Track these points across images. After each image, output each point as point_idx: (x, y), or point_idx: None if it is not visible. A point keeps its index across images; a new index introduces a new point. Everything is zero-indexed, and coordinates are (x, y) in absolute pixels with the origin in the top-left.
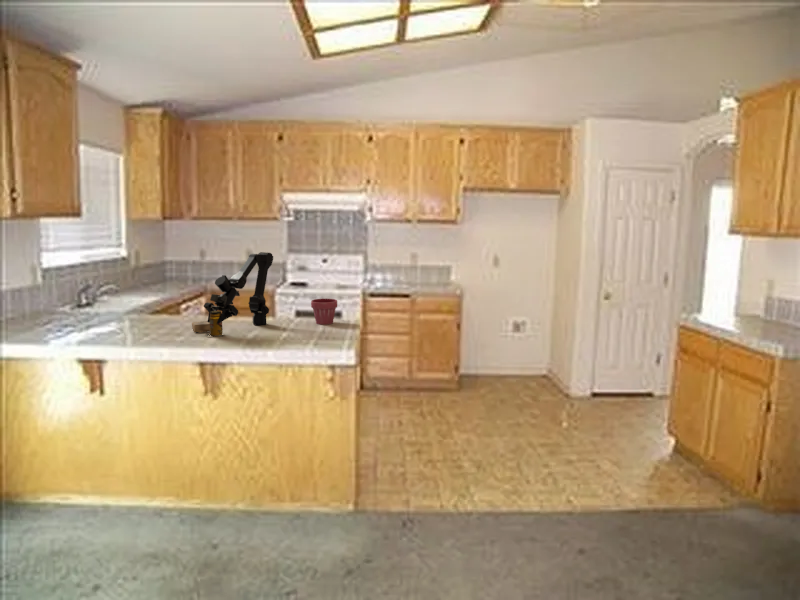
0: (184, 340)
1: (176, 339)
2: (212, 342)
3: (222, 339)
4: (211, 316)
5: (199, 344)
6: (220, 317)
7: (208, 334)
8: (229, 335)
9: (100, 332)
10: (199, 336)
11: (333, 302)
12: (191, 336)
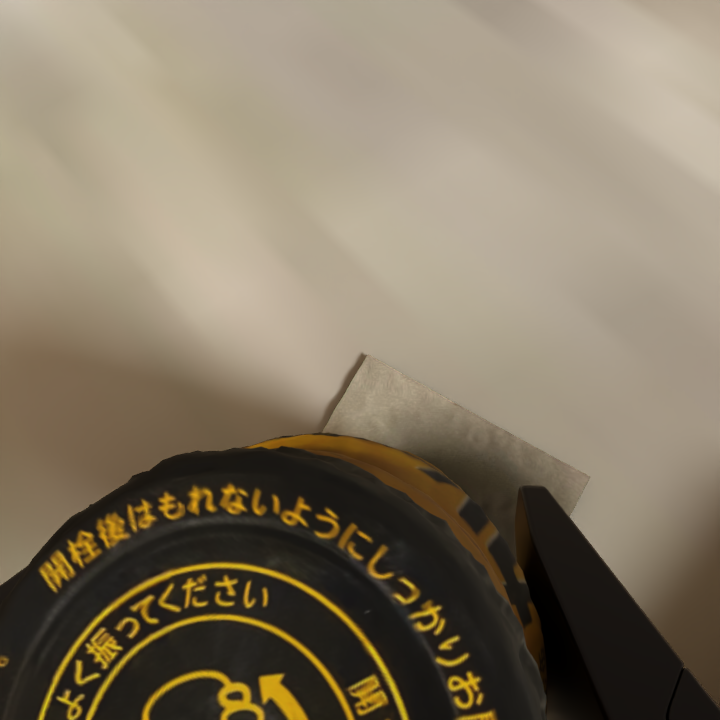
0: (523, 55)
1: (677, 35)
2: (120, 165)
3: (107, 360)
4: (326, 454)
5: (192, 19)
6: None
7: None
8: None
9: None
10: (551, 347)
11: None
12: (665, 283)
